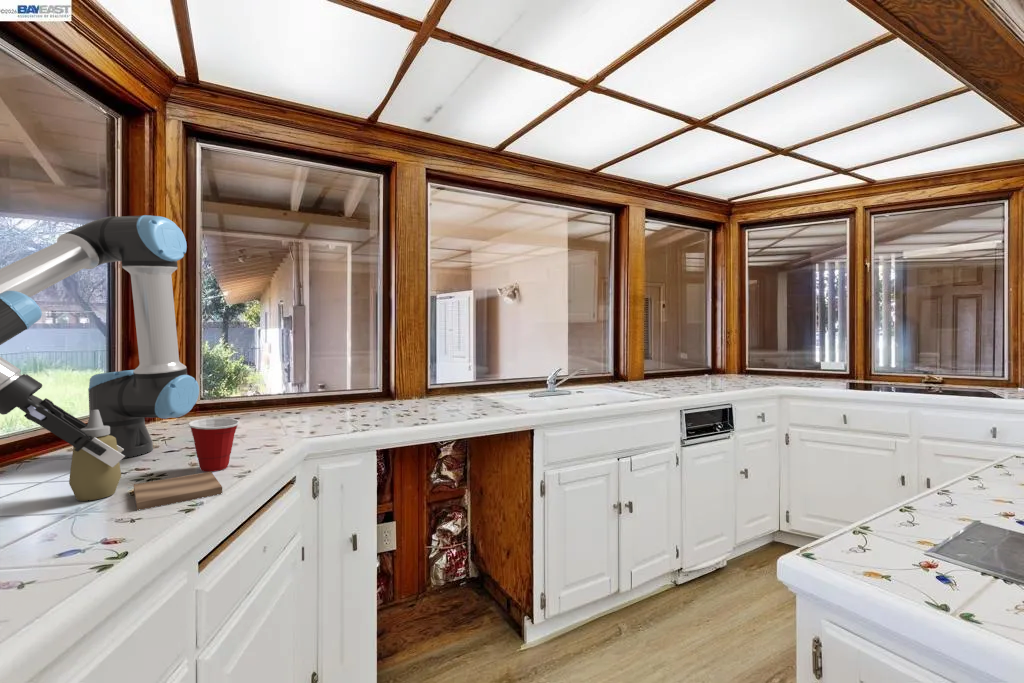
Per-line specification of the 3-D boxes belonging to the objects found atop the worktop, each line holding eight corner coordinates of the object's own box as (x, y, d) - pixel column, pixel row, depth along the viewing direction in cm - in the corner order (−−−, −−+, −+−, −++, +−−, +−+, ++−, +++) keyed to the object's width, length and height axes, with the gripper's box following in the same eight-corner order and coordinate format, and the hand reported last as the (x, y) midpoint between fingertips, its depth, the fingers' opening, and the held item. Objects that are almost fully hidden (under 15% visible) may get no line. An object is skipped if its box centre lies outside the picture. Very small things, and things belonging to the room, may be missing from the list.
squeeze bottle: (76, 506, 89) (75, 415, 89) (63, 498, 94) (61, 411, 93) (128, 494, 96) (127, 409, 96) (113, 487, 101) (112, 405, 100)
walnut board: (133, 491, 98) (133, 484, 98) (211, 477, 108) (211, 471, 107) (136, 510, 88) (136, 502, 88) (222, 493, 97) (222, 486, 97)
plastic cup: (215, 476, 108) (215, 426, 108) (177, 473, 111) (176, 424, 110) (250, 463, 119) (250, 417, 119) (214, 461, 121) (214, 416, 121)
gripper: (-8, 396, 92) (102, 462, 103) (-30, 409, 77) (101, 484, 88) (29, 369, 95) (132, 435, 106) (15, 376, 81) (136, 452, 92)
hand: (118, 457), depth 97 cm, fingers closed on squeeze bottle, 6 cm apart
